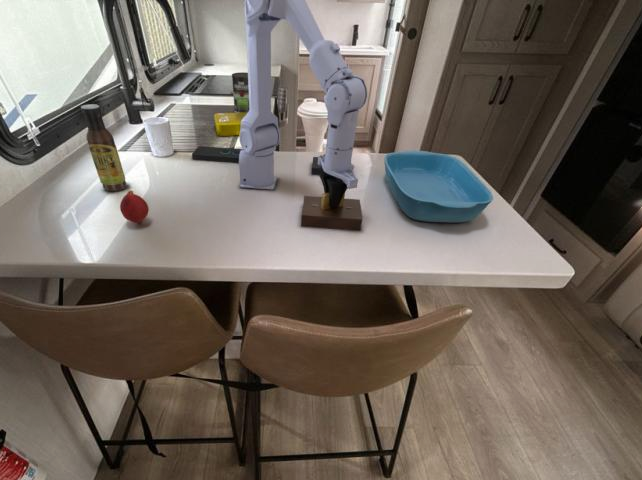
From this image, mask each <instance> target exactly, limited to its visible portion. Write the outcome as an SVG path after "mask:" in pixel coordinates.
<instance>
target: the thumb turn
mask: <svg viewBox="0 0 642 480" xmlns="http://www.w3.org/2000/svg"><path fill="white" fill-rule="evenodd" d="M345 196H346V192H345V193H344V195H343V197H342V199H341V202H340V204H339V206H338V207H340V206H343V204H344V199H345ZM321 197H322V199H321V208H322V209H323V210H325V209H330V208H331V207H330V204H329V197H330V194H329V193H321Z"/></svg>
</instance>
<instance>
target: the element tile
mask: <svg viewBox="0 0 642 480" xmlns="http://www.w3.org/2000/svg"><path fill="white" fill-rule="evenodd" d="M247 113H248V112H242V113H235V112H217V113H215V114H213V118H214V119H213V120H214V127H215V132H216V135H217V136H218V137H234V136H235V137H238V136H239V137H240V131H241V120H242V119H243V118H244V117H245V115H246V114H247Z"/></svg>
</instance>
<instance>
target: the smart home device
mask: <svg viewBox="0 0 642 480" xmlns="http://www.w3.org/2000/svg"><path fill="white" fill-rule="evenodd" d="M241 150H244V149H243V148H232V147H220V146H219V147H218V146H205V145H203V146H202V145H199V146H197V148H196V149H195V150H194V151H193V152H192V153H191V157H192V160H196V161H208V162H224V163H236V164H239V155H240V151H241Z"/></svg>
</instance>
